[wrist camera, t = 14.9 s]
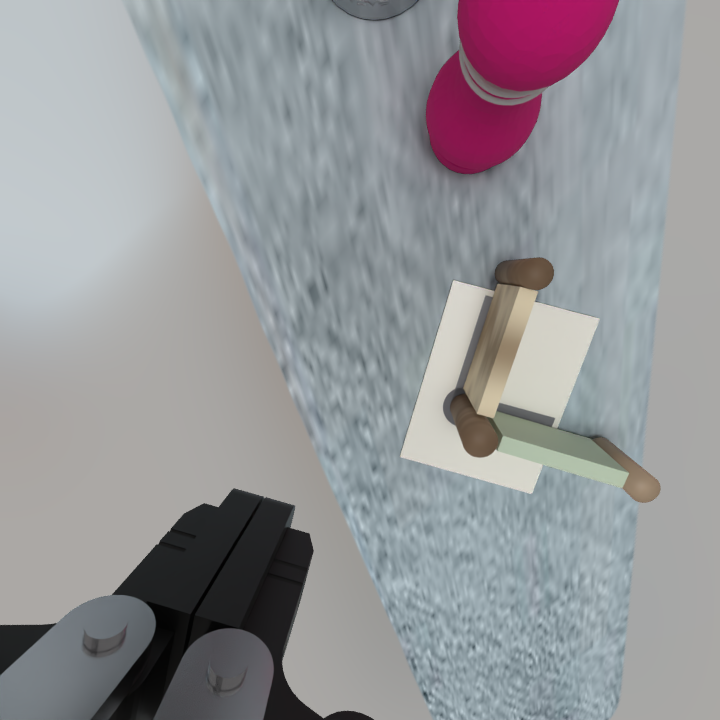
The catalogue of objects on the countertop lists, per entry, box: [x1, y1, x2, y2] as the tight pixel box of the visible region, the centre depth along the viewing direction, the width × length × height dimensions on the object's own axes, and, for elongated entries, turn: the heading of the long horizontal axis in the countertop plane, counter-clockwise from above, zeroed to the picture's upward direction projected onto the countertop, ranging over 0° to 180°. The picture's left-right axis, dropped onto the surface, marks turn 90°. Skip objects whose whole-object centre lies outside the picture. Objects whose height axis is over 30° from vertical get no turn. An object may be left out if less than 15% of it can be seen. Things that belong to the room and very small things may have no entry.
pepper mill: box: [426, 0, 619, 174], centre depth 23 cm, size 7×7×20 cm
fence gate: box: [486, 411, 660, 503], centre depth 32 cm, size 11×2×7 cm, turn 74°
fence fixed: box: [450, 258, 554, 458], centre depth 32 cm, size 14×2×8 cm, turn 165°
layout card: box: [400, 280, 600, 494], centre depth 36 cm, size 16×12×1 cm
